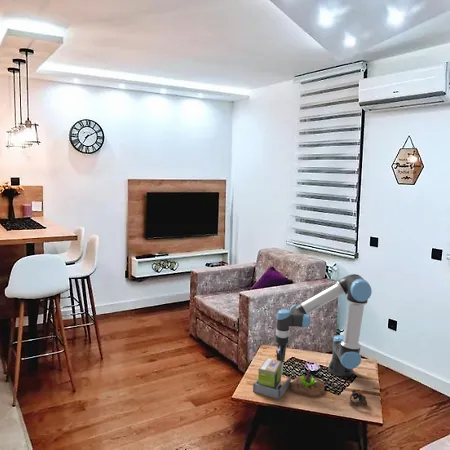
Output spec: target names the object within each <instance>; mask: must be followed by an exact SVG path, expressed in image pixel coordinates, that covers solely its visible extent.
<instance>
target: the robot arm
mask: <svg viewBox="0 0 450 450" xmlns="http://www.w3.org/2000/svg"><path fill="white" fill-rule="evenodd" d="M372 293H373V291H372V286H371V285H370V283H369V282H368V281H367V280H365V278H363V277H362V276H361V275H359V274H356V273H352V274H351V273H350V274H349V275H346V276H344V277H342V278H340V279H339V280H337V281H336V283H335V284H333V285H331V286H330V287H328V288H326V289H325V290H322V291H321V292H319V293H317V294H315V295H314V296H312V297H311V298H308V299H307V300H305V301H303V302H301V303H300V304H293V305H291V307H290V308H289V310H288V309H279V310H278V311H277V313H276V328H275V331H276V332H275V342H276V343H277V349H276V350H275V353H276V360H278V361H282V366H281V375H282V374H283V373H284V371H283V370H284V363H285V359H286V358H285V357H286V353H287V352H286V351H287V346H288V343H289V338H290V337H289V336H290V328H309V327H310V326H311V315H310V313H312V312H313V311H315V310H317V309H319V308H321V307H324V306H325V305H327V304H328V303H331V302H332V301H333V300H335V299H337V298H340V297H341V296H343V295H345V296H346V295H347V296H346V300H347V301H348V308H347V315H346V316H347V317H346V322H345V328H344V333H343V335H342V334H337V335H335V336H334V337H333V343H332V356H331V360H330V362H329V363H328V367H327V368H328V372H329V373H331V374H332V375H334V376H337V377H342V378H343V377H345V378H348V377H350V376H352V375H354V374H353V373H354V369H356V368H357V367H358V366H360V365H361V362H362V356H361V355H360V353H361V344H360V343H359V342H360V341H359V340H360V334H361V327H362V320H363V314H364V307H365V305H366V304H367V303H368V302H369V299H370V298H371V296H372Z"/></svg>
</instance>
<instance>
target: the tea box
mask: <svg viewBox="0 0 450 450" xmlns="http://www.w3.org/2000/svg"><path fill="white" fill-rule="evenodd" d="M281 366H282V361H278V360H277V359H273V358H269V357H268V358H267V357H266V358H265V359H264V361H263V362H262V363H261V365H260V366H259V368H258V372H257V373H258V378H257V379H258V384H260V385H264V386H267V387H271V388H274V389H278V390H279V389H280V388H279V387H281V384H282V374H281Z"/></svg>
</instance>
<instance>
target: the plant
mask: <svg viewBox="0 0 450 450" xmlns="http://www.w3.org/2000/svg"><path fill="white" fill-rule="evenodd" d="M310 372H311V369H310V368H308V371H307V374H306V375H299V376H297V377H295V378H294V379H293V380H292V381H291V382H290V386H289V389H290V392H291V393H293V394H295V395H301V396H306V397H308V398H313V399H315V398H321V395H324V394H325V383H324V382H322V380H319V379H318V378H317V377H316V376H312V375H311V376H310Z"/></svg>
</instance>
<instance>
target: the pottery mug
mask: <svg viewBox="0 0 450 450" xmlns="http://www.w3.org/2000/svg"><path fill="white" fill-rule="evenodd" d="M351 392H352V393H351V394H350V396H349V403H348V404H349V405H350V406H353V407H361V406H364V403H365V406H368V401H367V398H366V396H365V395H364V394H363V393H362V392H360V391H357V390H356V389H352V391H351ZM352 397H353V398H352ZM356 400H358V401H356Z"/></svg>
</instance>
